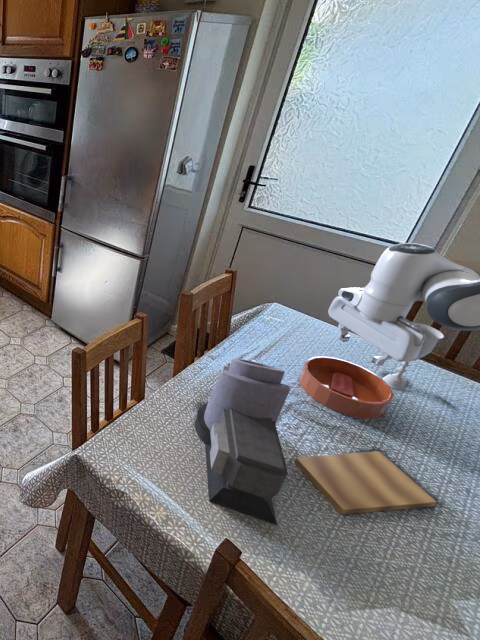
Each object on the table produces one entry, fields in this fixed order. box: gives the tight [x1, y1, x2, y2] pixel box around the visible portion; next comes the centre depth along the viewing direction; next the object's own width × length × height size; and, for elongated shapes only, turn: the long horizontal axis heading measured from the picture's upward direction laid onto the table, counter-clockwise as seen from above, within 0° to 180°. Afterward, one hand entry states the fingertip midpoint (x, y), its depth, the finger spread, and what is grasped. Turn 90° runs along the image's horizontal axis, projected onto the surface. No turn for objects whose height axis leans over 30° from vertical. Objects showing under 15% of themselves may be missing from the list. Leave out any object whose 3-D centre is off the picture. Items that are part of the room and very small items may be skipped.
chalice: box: [381, 321, 444, 391], centre depth 110 cm, size 7×7×18 cm
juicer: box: [194, 357, 291, 526], centre depth 89 cm, size 30×16×24 cm, turn 155°
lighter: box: [220, 359, 257, 374], centre depth 115 cm, size 7×2×8 cm, turn 58°
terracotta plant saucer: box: [298, 355, 395, 420], centre depth 110 cm, size 18×18×5 cm
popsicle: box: [330, 372, 353, 398], centre depth 111 cm, size 4×2×15 cm
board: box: [293, 450, 437, 515], centre depth 88 cm, size 20×12×2 cm, turn 94°
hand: (359, 351), depth 106 cm, fingers open, 8 cm apart
